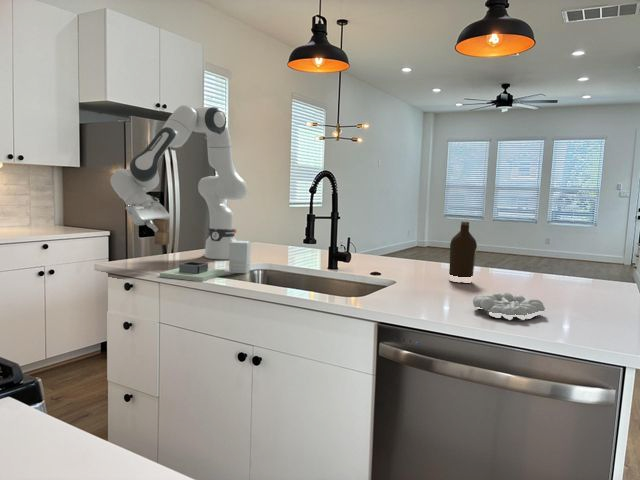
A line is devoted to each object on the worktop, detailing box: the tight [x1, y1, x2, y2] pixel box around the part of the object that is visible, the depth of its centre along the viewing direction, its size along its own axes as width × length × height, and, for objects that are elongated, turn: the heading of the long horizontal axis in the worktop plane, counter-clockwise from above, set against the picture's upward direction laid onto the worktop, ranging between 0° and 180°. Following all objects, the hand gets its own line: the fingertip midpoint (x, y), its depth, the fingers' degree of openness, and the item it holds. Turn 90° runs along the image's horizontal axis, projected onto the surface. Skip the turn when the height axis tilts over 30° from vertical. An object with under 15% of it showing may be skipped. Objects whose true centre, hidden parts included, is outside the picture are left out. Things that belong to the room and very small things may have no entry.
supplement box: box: [228, 240, 252, 274], centre depth 204 cm, size 7×7×13 cm
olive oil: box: [448, 221, 478, 277], centre depth 205 cm, size 11×11×25 cm
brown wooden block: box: [154, 218, 171, 246], centre depth 195 cm, size 4×4×10 cm
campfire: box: [472, 292, 546, 316], centre depth 155 cm, size 22×21×6 cm
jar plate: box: [159, 267, 226, 282], centre depth 192 cm, size 18×18×2 cm
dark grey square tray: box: [178, 261, 209, 274], centre depth 192 cm, size 8×8×3 cm
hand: (161, 230), depth 195 cm, fingers closed on brown wooden block, 4 cm apart
